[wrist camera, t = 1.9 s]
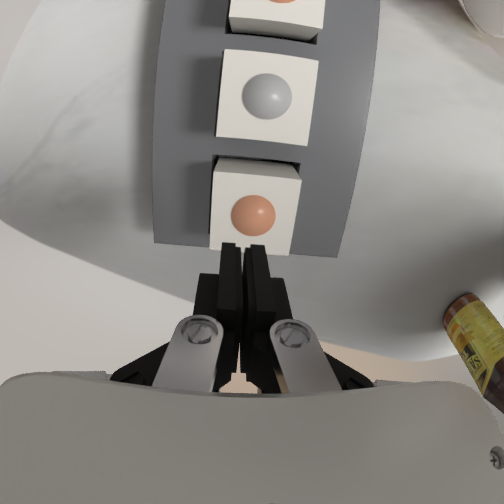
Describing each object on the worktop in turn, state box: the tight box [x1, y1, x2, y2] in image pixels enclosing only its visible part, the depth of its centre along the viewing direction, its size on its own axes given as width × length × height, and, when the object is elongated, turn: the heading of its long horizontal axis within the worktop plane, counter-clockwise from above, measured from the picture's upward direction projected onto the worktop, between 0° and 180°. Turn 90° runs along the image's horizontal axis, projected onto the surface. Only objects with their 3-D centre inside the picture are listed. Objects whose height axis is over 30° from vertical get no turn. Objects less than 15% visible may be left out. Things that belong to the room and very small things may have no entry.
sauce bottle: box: [443, 294, 504, 414], centre depth 22 cm, size 6×6×20 cm
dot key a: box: [209, 158, 302, 256], centre depth 19 cm, size 5×5×4 cm
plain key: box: [216, 49, 319, 146], centre depth 16 cm, size 5×5×4 cm
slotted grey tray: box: [152, 0, 380, 258], centre depth 18 cm, size 14×22×3 cm, turn 174°
